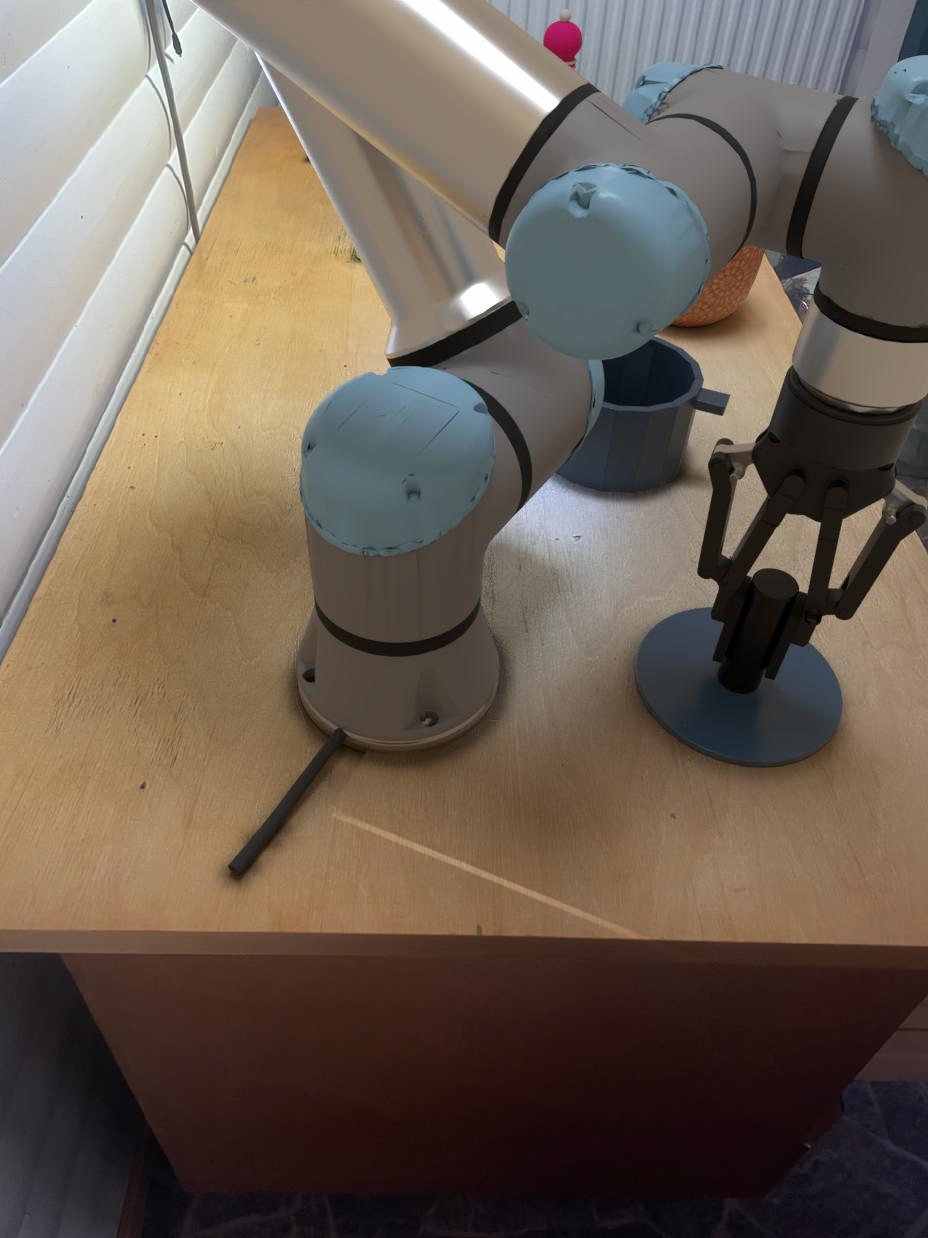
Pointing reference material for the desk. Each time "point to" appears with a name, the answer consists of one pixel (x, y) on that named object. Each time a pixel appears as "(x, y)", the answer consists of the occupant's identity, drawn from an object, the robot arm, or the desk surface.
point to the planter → (725, 290)
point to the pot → (643, 420)
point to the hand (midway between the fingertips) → (746, 657)
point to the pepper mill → (564, 39)
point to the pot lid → (740, 681)
